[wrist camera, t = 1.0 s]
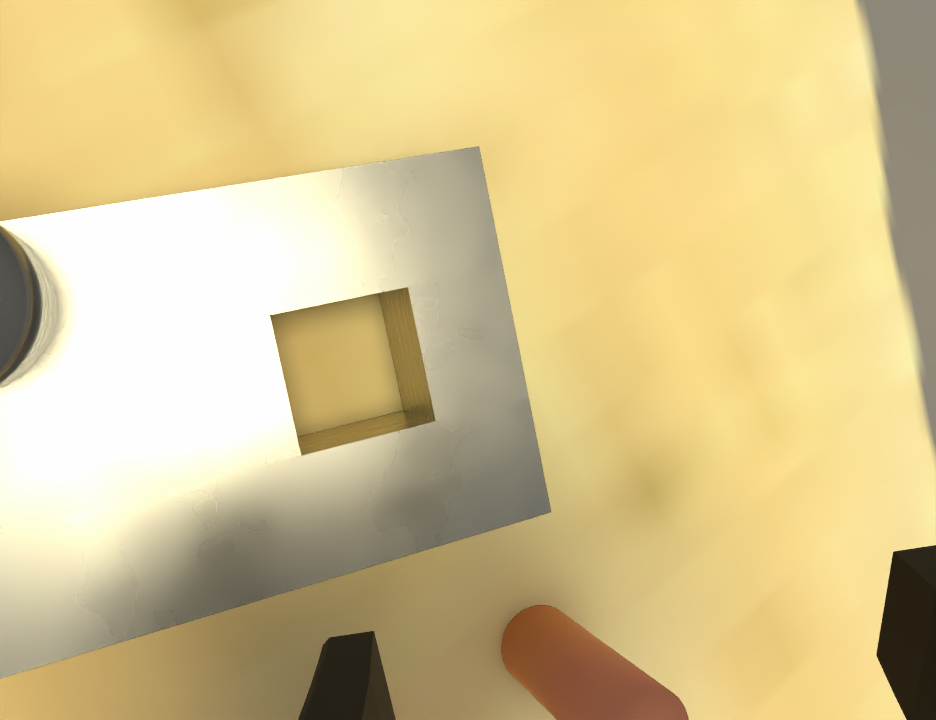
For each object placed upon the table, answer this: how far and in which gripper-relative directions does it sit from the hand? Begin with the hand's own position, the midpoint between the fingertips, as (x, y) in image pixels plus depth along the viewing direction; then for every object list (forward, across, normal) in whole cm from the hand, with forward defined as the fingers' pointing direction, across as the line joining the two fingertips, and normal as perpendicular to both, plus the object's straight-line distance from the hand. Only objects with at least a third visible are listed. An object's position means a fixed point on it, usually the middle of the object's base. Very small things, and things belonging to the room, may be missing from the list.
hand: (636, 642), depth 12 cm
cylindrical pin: (+9, +1, +10) cm, 13 cm away
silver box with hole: (+11, +8, +1) cm, 13 cm away
